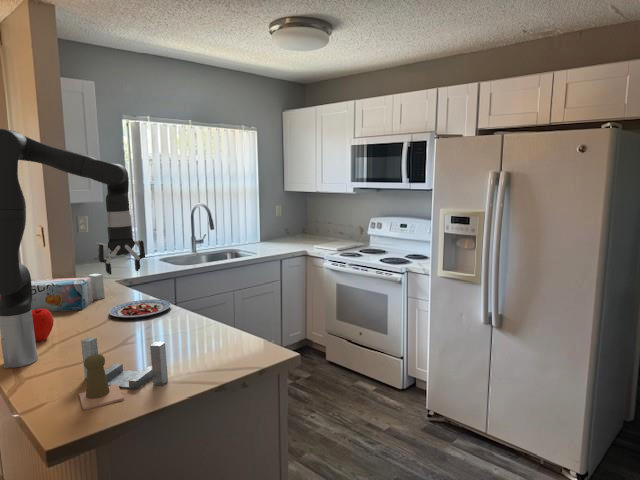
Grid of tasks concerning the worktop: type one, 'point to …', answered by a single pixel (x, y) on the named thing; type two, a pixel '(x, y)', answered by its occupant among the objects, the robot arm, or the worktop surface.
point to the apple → (42, 323)
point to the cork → (96, 377)
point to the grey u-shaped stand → (132, 378)
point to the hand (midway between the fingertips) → (123, 272)
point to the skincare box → (97, 286)
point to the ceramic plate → (139, 308)
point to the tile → (102, 398)
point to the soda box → (61, 294)
